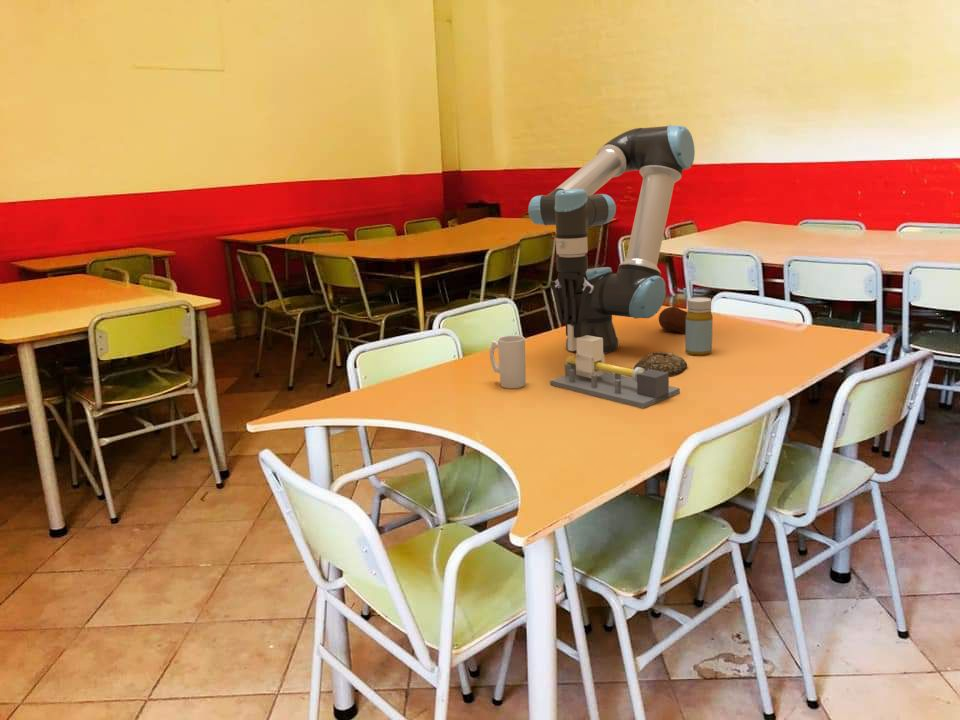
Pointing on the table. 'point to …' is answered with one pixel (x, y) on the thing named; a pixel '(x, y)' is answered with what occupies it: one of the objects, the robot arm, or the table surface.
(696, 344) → the bottle
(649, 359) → the bread roll
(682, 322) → the potato
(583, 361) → the sleeve
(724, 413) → the table surface
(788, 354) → the table surface
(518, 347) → the mug
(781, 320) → the table surface
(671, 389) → the yellow rod slider
